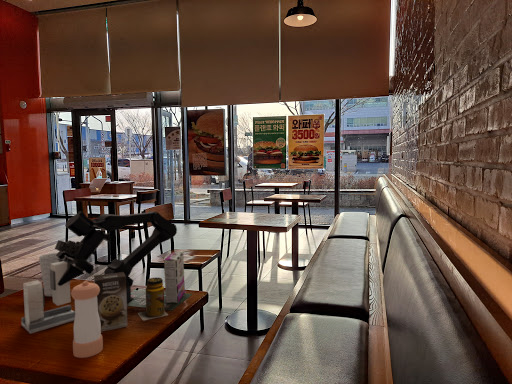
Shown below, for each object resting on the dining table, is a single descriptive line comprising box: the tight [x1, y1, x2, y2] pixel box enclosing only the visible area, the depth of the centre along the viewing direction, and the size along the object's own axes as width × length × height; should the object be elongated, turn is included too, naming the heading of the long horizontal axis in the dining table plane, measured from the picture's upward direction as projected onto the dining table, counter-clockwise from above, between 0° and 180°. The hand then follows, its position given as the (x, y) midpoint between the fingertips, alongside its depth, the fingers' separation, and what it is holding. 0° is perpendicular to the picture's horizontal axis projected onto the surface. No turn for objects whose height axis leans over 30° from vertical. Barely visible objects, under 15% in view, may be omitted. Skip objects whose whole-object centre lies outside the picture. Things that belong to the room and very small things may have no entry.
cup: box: [38, 252, 60, 297], centre depth 142 cm, size 8×8×16 cm
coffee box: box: [93, 272, 128, 332], centre depth 112 cm, size 9×6×16 cm
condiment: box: [137, 277, 169, 321], centre depth 120 cm, size 7×8×12 cm
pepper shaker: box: [70, 280, 104, 359], centre depth 96 cm, size 7×7×19 cm
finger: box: [50, 261, 72, 306], centre depth 117 cm, size 5×4×13 cm
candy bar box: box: [163, 251, 186, 304], centre depth 135 cm, size 11×5×16 cm, turn 179°
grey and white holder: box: [21, 279, 75, 335], centre depth 115 cm, size 14×9×14 cm, turn 137°
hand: (56, 283), depth 116 cm, fingers closed on finger, 4 cm apart
